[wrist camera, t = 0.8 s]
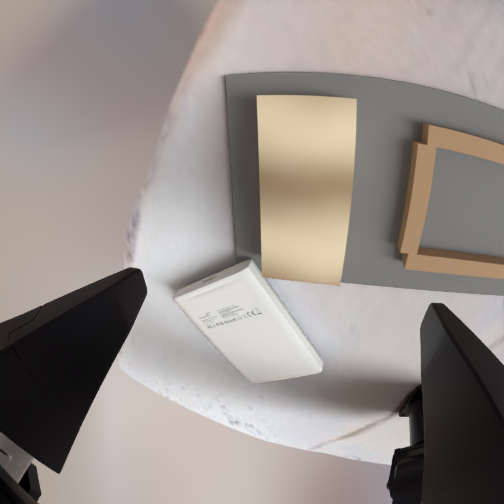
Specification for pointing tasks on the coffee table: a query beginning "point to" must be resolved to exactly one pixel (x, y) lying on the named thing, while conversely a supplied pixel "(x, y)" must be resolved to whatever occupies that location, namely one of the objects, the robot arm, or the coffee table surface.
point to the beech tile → (305, 185)
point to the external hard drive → (249, 324)
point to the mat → (393, 181)
